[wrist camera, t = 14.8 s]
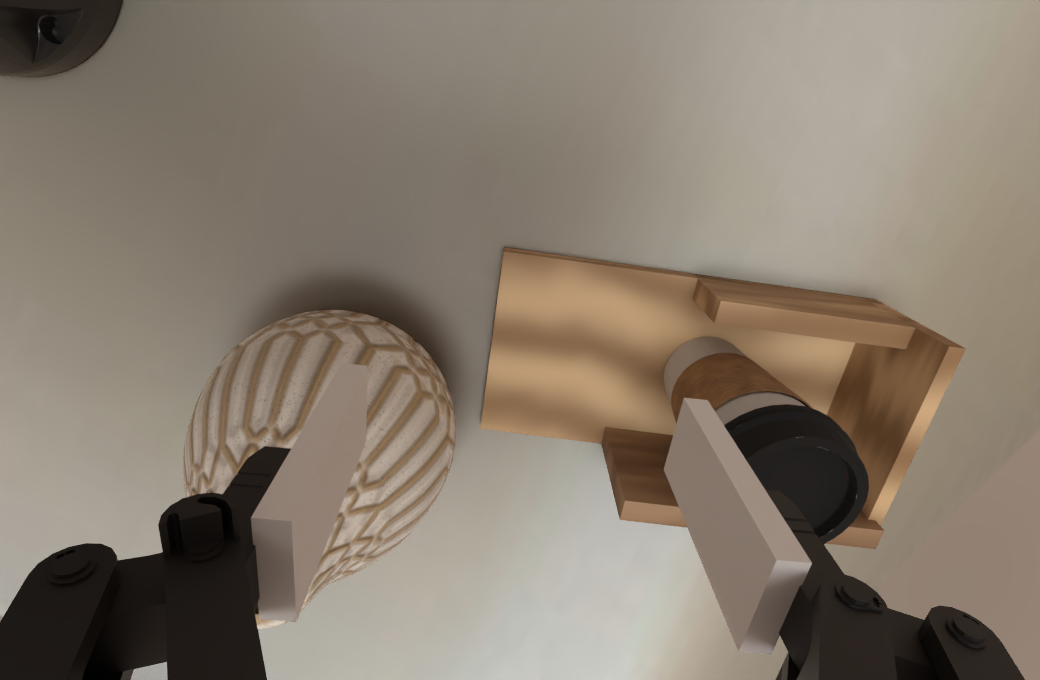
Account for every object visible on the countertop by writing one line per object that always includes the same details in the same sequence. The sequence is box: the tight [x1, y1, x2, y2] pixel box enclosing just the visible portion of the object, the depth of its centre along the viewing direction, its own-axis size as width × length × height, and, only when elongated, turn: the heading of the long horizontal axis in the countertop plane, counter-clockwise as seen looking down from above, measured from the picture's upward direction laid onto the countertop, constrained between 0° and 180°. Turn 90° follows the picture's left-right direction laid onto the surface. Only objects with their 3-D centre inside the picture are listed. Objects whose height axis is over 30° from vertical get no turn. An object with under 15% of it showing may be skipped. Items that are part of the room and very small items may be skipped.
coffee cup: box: [663, 336, 869, 544], centre depth 35 cm, size 8×8×15 cm
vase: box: [183, 310, 455, 629], centre depth 34 cm, size 16×16×20 cm
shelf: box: [480, 247, 965, 549], centre depth 38 cm, size 14×27×10 cm, turn 82°
